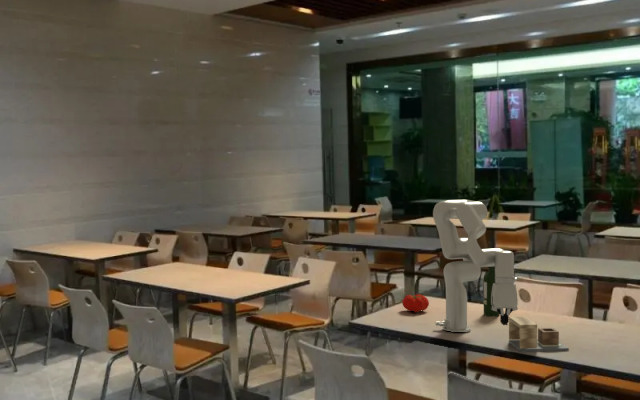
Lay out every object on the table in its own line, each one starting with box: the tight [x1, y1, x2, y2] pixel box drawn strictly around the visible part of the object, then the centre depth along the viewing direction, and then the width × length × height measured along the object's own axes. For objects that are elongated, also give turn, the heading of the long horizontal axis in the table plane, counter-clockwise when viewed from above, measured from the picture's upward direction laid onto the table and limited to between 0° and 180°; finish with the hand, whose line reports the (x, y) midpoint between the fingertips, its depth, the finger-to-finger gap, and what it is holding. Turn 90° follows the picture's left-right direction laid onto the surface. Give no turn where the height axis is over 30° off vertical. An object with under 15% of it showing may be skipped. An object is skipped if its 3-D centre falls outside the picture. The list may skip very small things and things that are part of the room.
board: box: [508, 338, 570, 353], centre depth 279 cm, size 20×14×4 cm
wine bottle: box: [483, 266, 500, 317], centre depth 337 cm, size 8×8×30 cm
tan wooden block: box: [508, 316, 538, 349], centre depth 278 cm, size 7×14×10 cm, turn 2°
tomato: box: [401, 293, 430, 313], centre depth 346 cm, size 14×13×9 cm
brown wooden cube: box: [537, 327, 560, 345], centre depth 279 cm, size 6×6×6 cm
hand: (504, 324), depth 278 cm, fingers closed
